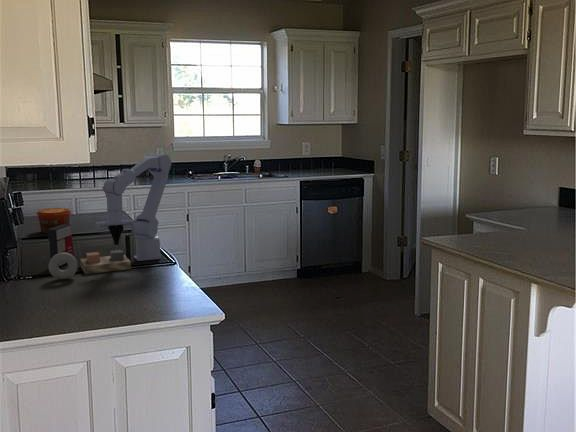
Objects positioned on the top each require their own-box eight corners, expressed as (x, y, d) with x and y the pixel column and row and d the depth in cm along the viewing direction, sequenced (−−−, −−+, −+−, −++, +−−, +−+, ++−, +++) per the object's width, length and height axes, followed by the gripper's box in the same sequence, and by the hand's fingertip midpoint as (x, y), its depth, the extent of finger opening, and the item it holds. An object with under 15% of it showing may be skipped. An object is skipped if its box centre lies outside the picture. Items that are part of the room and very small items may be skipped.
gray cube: (121, 259, 241) (121, 249, 240) (123, 262, 237) (123, 252, 237) (110, 260, 239) (109, 250, 238) (112, 263, 235) (112, 253, 235)
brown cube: (98, 261, 237) (97, 252, 236) (100, 264, 233) (99, 254, 233) (86, 263, 235) (86, 253, 235) (88, 265, 231) (87, 255, 231)
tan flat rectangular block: (124, 261, 246) (124, 254, 245) (130, 268, 235) (130, 261, 235) (80, 266, 238) (80, 258, 238) (85, 273, 228) (84, 266, 227)
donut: (78, 276, 224) (76, 250, 222) (78, 279, 221) (77, 252, 219) (49, 279, 220) (47, 252, 218) (49, 281, 217) (47, 254, 215)
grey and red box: (59, 267, 236) (57, 229, 233) (49, 267, 237) (47, 229, 234) (74, 260, 247) (72, 224, 244) (65, 260, 247) (62, 224, 245)
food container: (40, 229, 307) (39, 208, 305) (73, 228, 311) (72, 207, 309) (35, 235, 292) (33, 213, 290) (70, 234, 296) (69, 212, 294)
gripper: (97, 213, 228) (98, 248, 230) (136, 210, 234) (137, 244, 237) (94, 210, 234) (95, 244, 236) (132, 207, 240) (133, 241, 243)
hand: (116, 244), depth 237 cm, fingers closed
